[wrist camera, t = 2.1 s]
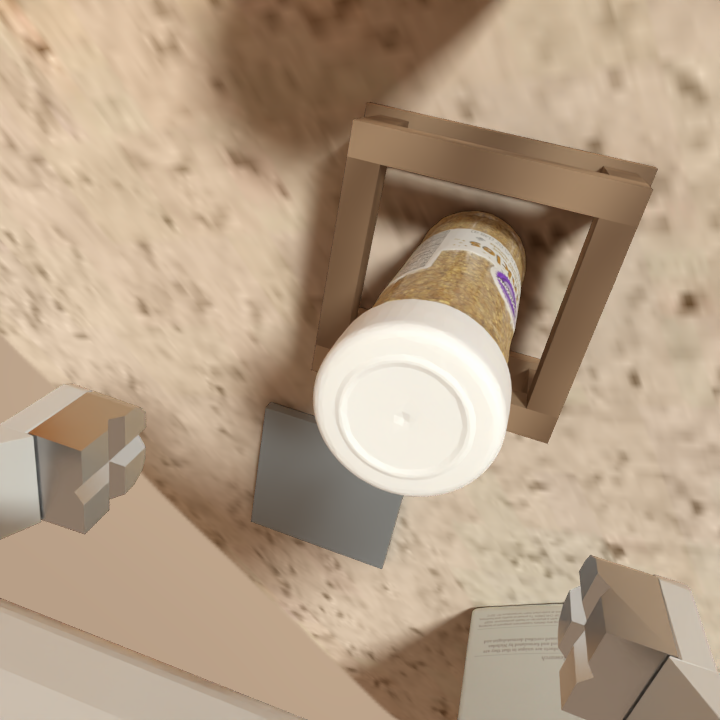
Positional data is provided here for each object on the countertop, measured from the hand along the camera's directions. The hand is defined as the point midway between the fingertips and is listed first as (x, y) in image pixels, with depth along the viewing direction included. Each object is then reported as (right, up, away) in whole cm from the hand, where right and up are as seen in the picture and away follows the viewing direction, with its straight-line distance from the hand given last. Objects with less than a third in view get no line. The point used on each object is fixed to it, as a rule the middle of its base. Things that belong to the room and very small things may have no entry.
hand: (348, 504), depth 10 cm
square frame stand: (+5, +7, +14) cm, 17 cm away
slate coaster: (-1, -4, +22) cm, 22 cm away
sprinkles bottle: (+5, +7, +15) cm, 17 cm away
